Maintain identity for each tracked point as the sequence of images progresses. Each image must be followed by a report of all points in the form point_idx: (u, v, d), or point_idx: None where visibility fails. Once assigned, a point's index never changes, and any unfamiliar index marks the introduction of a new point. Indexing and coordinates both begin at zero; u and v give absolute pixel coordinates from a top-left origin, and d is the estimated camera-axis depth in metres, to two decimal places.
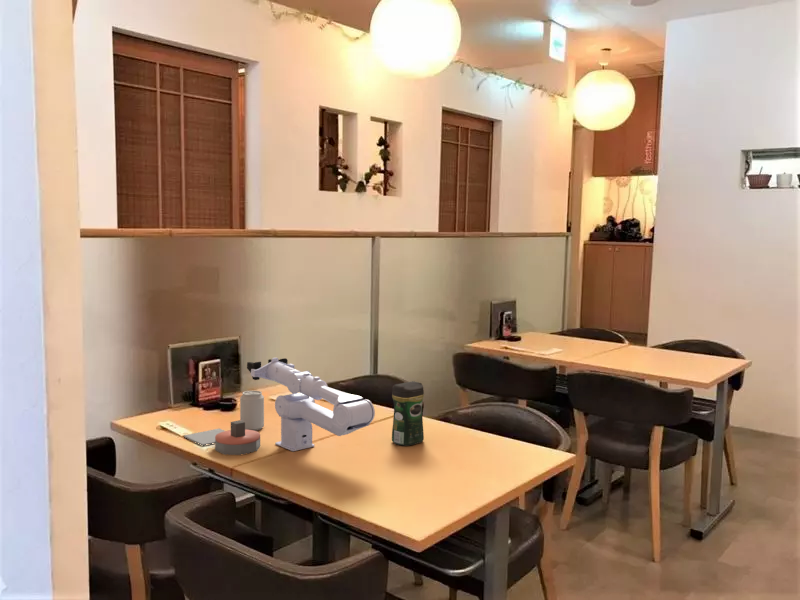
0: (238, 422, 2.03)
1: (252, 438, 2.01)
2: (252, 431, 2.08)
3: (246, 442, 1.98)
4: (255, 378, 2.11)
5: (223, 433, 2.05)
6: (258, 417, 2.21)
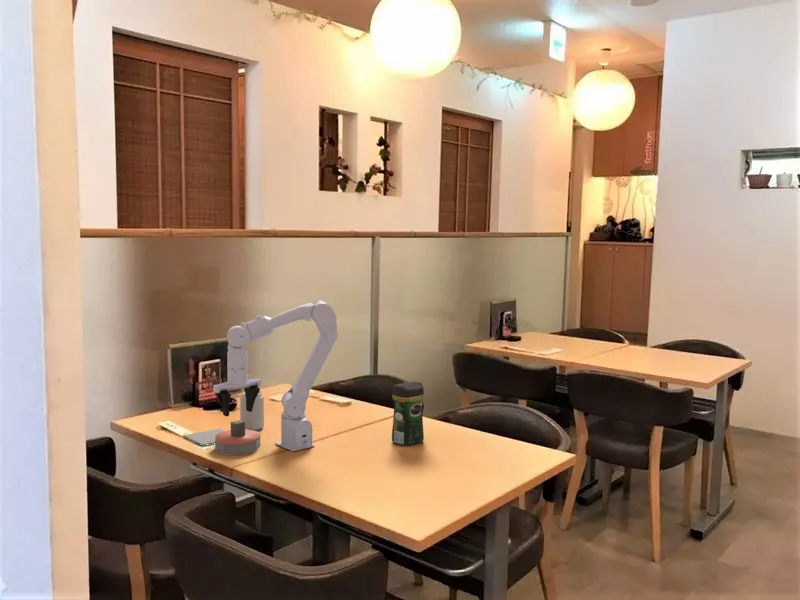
0: (238, 422, 2.03)
1: (252, 438, 2.01)
2: (252, 431, 2.08)
3: (246, 442, 1.98)
4: (225, 394, 1.97)
5: (223, 433, 2.05)
6: (258, 417, 2.21)
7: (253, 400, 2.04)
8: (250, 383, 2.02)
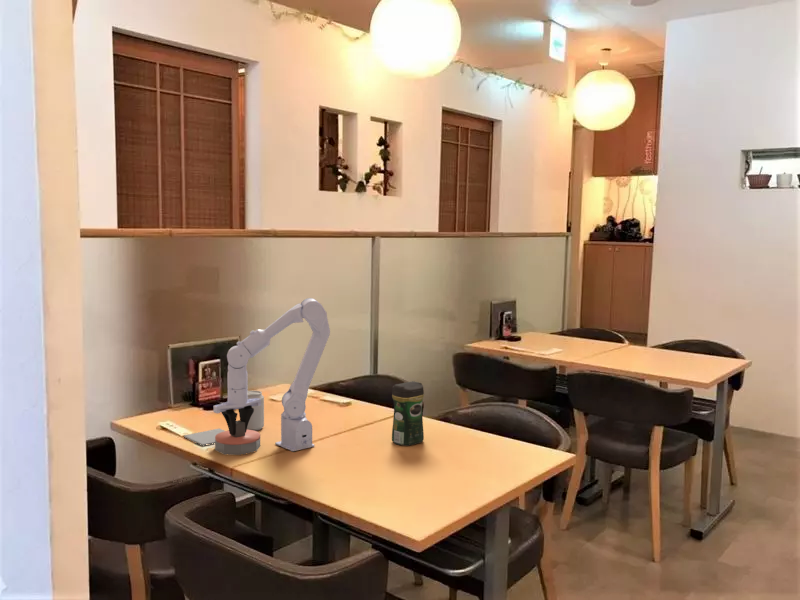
0: (238, 422, 2.03)
1: (252, 438, 2.01)
2: (252, 431, 2.08)
3: (246, 442, 1.98)
4: (231, 413, 1.99)
5: (223, 433, 2.05)
6: (258, 417, 2.21)
7: (247, 421, 2.03)
8: (250, 403, 2.03)
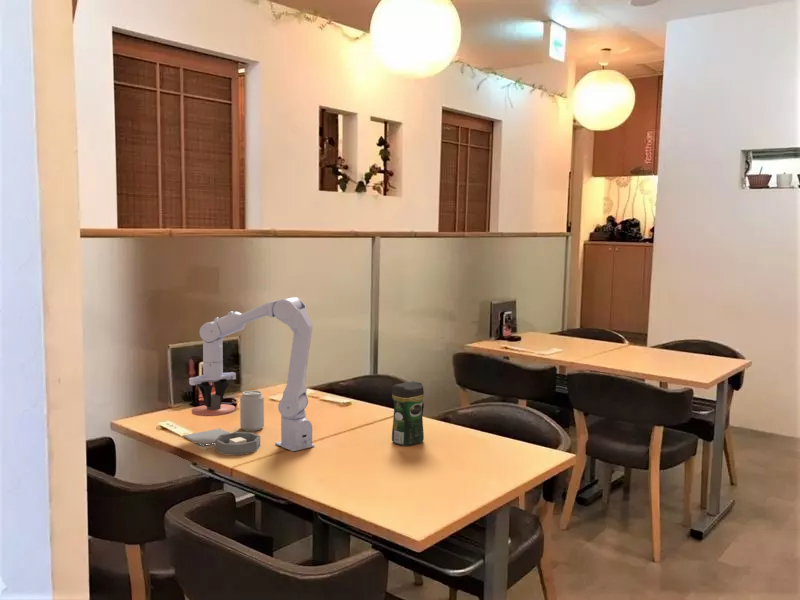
0: (213, 395, 2.11)
1: (227, 410, 2.09)
2: (228, 405, 2.16)
3: (221, 414, 2.06)
4: (206, 385, 2.07)
5: (199, 407, 2.13)
6: (258, 417, 2.21)
7: (222, 393, 2.11)
8: (225, 376, 2.11)
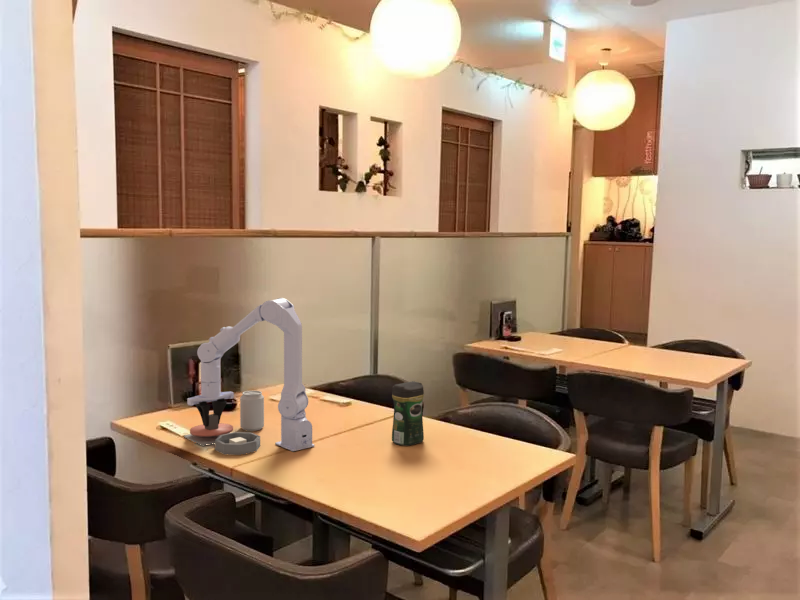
0: (211, 415, 2.12)
1: (225, 430, 2.10)
2: (226, 424, 2.17)
3: (219, 434, 2.08)
4: (204, 405, 2.08)
5: (197, 427, 2.14)
6: (258, 417, 2.21)
7: (220, 413, 2.13)
8: (223, 396, 2.12)
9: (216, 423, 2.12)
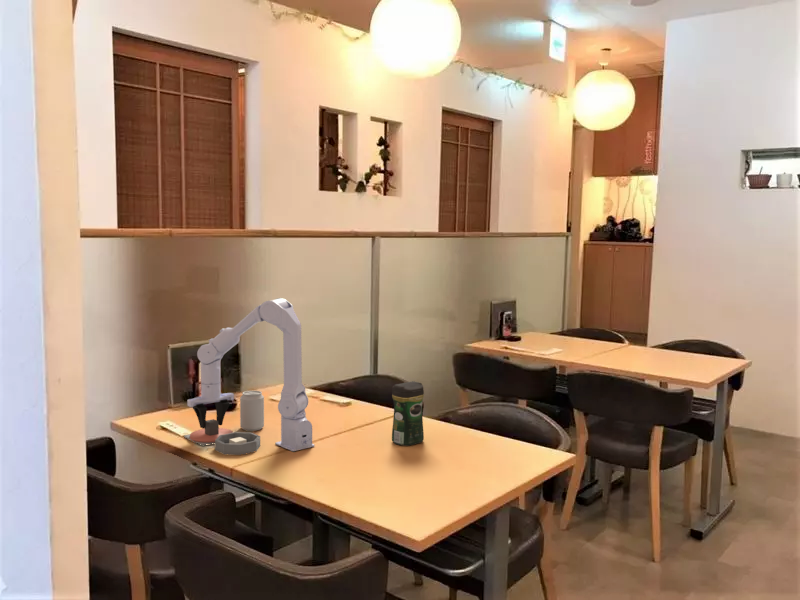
0: (212, 421, 2.12)
1: None
2: (226, 429, 2.17)
3: None
4: (201, 407, 2.08)
5: (197, 432, 2.14)
6: (258, 417, 2.21)
7: (223, 414, 2.14)
8: (223, 397, 2.13)
9: (216, 429, 2.12)
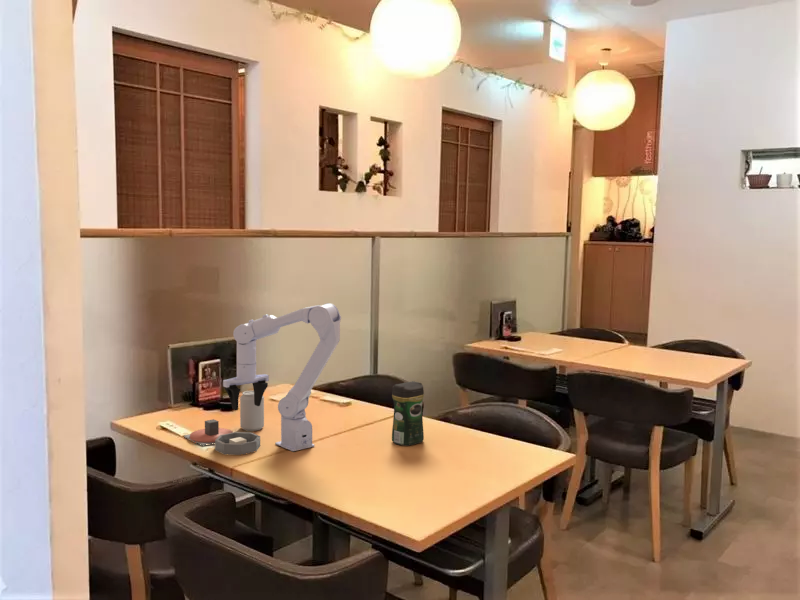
0: (212, 421, 2.12)
1: None
2: (226, 430, 2.17)
3: None
4: (234, 388, 2.04)
5: (197, 432, 2.14)
6: (258, 417, 2.21)
7: (261, 395, 2.11)
8: (258, 378, 2.10)
9: (216, 429, 2.12)
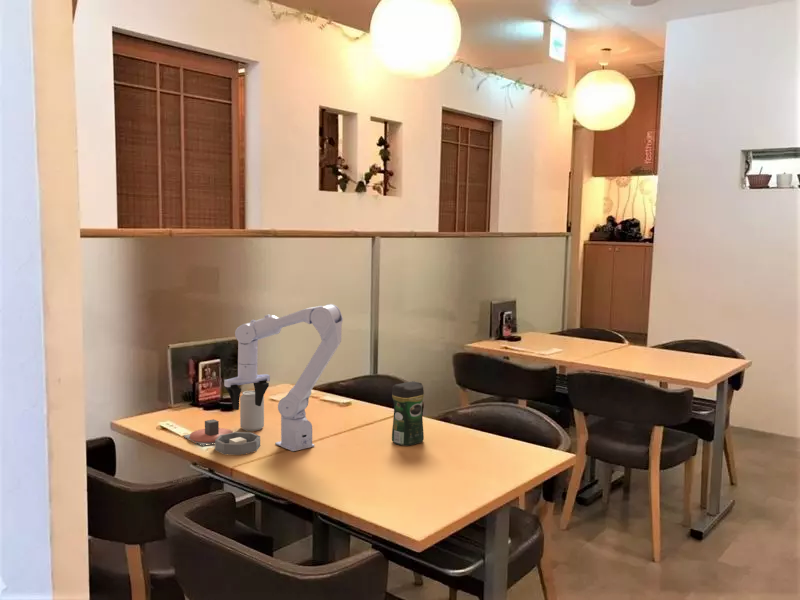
0: (212, 421, 2.12)
1: None
2: (226, 430, 2.17)
3: None
4: (235, 388, 2.04)
5: (197, 432, 2.14)
6: (258, 417, 2.21)
7: (262, 395, 2.11)
8: (259, 378, 2.10)
9: (216, 429, 2.12)
